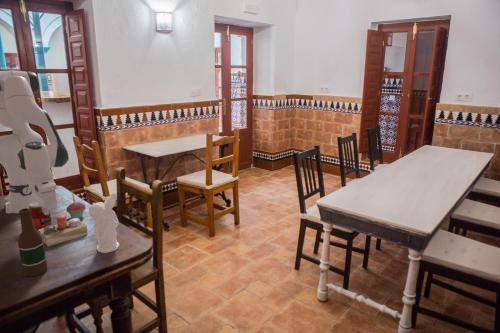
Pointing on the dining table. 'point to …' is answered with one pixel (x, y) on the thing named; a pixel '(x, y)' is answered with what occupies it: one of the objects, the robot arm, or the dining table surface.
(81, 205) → the cupcake
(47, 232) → the graphite plug
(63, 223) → the red plug
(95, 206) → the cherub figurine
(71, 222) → the white rounded piece
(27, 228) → the beer bottle
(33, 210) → the canned food
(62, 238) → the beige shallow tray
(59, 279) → the dining table surface
